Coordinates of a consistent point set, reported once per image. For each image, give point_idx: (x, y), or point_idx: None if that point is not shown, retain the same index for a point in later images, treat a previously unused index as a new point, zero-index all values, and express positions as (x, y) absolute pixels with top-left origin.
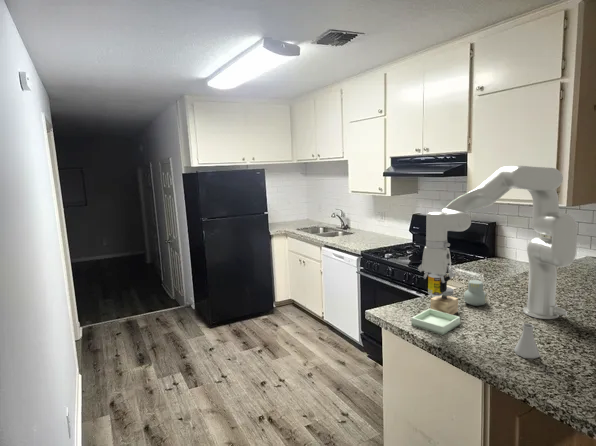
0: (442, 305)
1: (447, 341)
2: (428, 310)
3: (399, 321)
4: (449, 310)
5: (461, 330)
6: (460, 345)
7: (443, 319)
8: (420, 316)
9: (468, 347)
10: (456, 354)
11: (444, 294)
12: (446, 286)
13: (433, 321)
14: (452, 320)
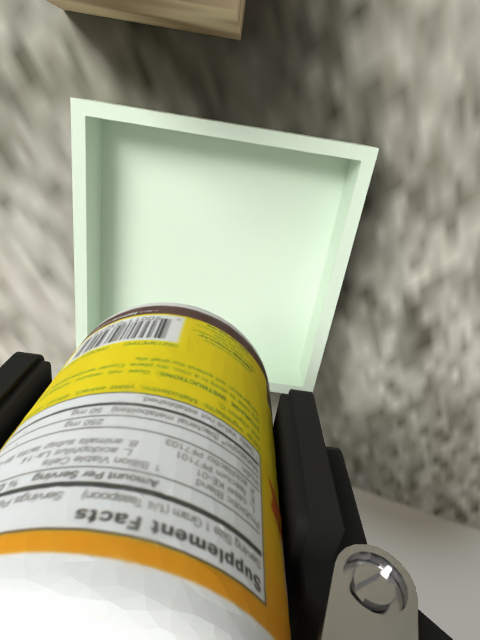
0: (165, 8)
1: (348, 420)
2: (87, 142)
3: (6, 329)
4: (242, 2)
5: (391, 248)
6: (417, 427)
7: (237, 163)
8: (93, 267)
9: (457, 427)
10: (413, 503)
11: None
12: (347, 492)
13: (191, 245)
14: (338, 259)
